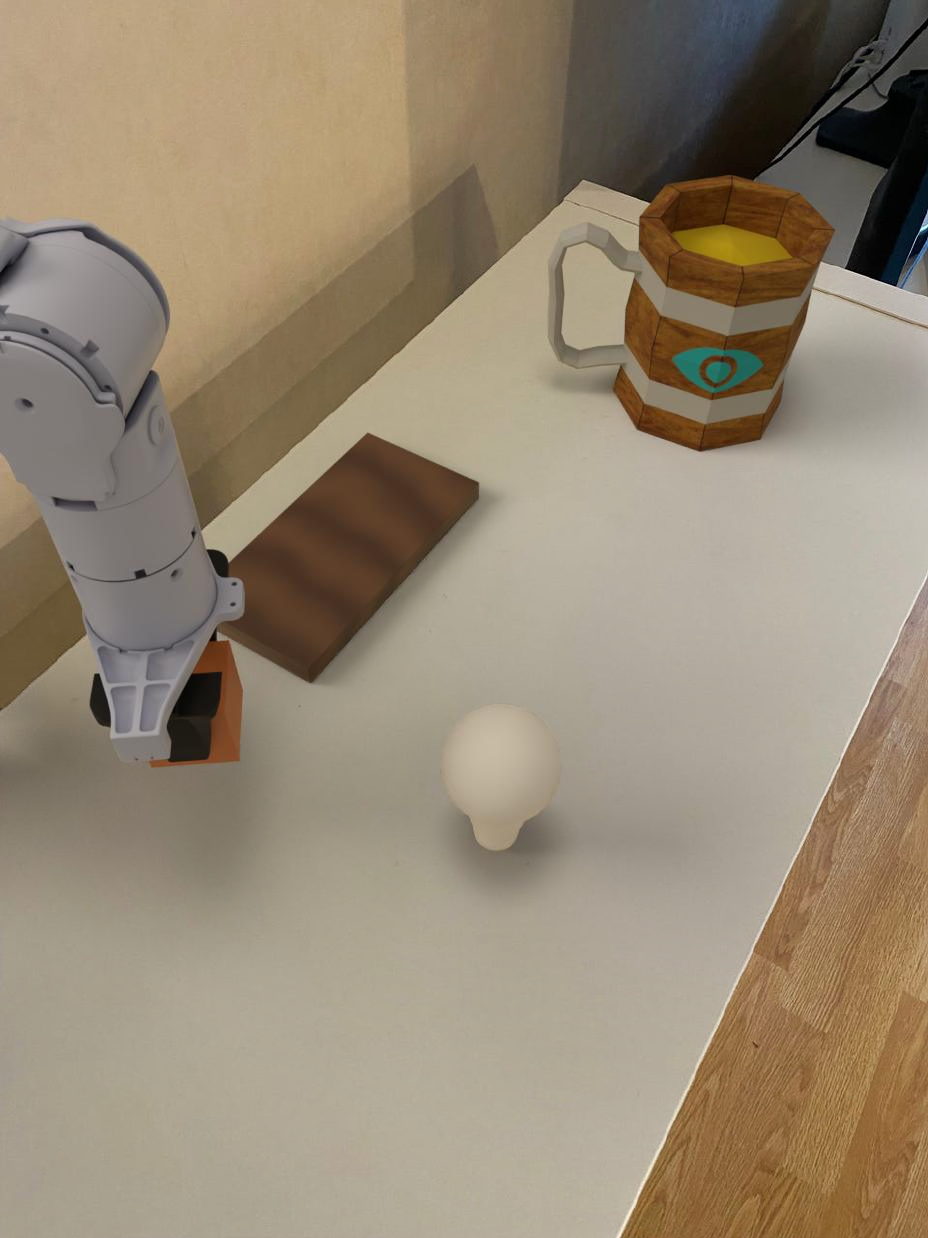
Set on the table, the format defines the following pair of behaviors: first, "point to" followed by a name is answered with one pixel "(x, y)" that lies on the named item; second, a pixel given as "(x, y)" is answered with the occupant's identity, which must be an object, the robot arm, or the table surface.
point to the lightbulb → (500, 770)
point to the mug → (704, 307)
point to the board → (342, 552)
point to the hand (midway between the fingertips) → (192, 713)
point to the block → (220, 706)
